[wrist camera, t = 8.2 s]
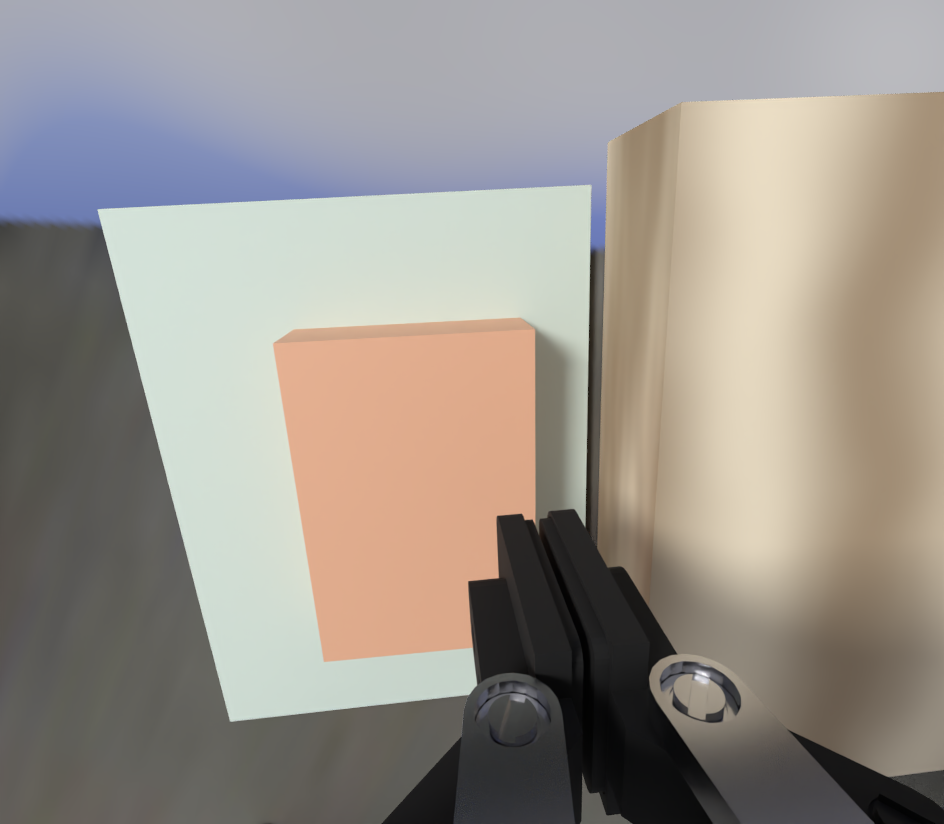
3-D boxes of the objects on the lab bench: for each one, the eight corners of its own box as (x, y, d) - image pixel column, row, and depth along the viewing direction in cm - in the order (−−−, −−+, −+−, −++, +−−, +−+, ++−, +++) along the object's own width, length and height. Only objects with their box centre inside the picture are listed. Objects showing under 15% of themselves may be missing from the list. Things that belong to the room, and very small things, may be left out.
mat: (587, 186, 14) (591, 185, 13) (580, 675, 19) (582, 681, 18) (104, 209, 13) (97, 209, 12) (233, 713, 18) (230, 721, 17)
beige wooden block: (1010, 124, 14) (1230, 80, 10) (880, 662, 20) (990, 763, 16) (607, 142, 13) (681, 102, 9) (593, 695, 19) (635, 809, 15)
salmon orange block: (534, 328, 12) (520, 317, 14) (272, 343, 12) (293, 329, 14) (535, 641, 15) (523, 596, 17) (323, 662, 15) (335, 613, 16)
